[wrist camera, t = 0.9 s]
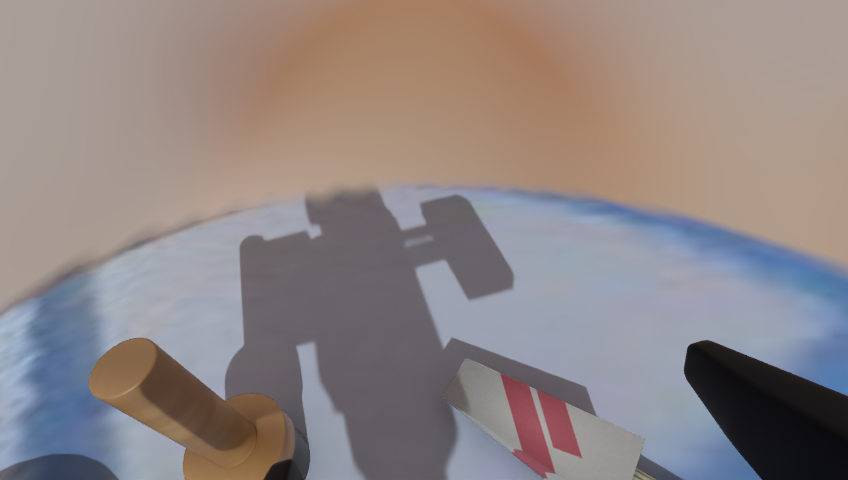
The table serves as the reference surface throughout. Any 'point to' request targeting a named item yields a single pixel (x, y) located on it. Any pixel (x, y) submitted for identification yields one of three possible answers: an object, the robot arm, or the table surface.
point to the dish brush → (197, 415)
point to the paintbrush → (544, 428)
